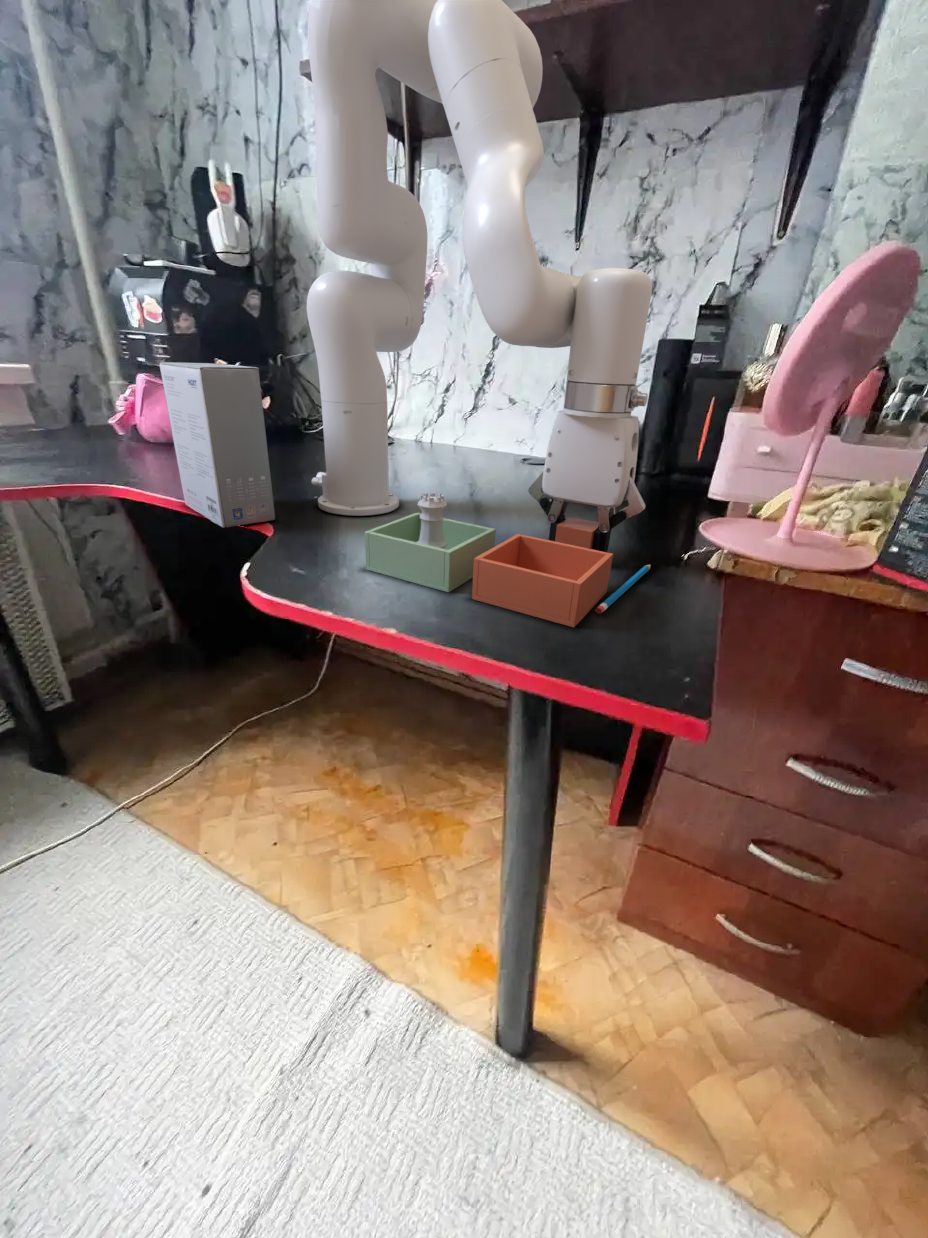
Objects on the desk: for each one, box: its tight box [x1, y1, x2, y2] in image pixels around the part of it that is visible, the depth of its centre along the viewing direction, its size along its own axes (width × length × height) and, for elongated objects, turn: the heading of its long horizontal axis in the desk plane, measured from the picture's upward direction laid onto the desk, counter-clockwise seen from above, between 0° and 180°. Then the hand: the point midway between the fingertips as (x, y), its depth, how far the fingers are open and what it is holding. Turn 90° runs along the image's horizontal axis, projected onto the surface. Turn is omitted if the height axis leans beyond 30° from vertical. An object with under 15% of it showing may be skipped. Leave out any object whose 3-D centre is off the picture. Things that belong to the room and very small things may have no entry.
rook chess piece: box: [417, 492, 449, 550], centre depth 62 cm, size 4×4×8 cm
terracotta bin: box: [471, 533, 614, 628], centre depth 57 cm, size 11×10×4 cm
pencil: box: [594, 564, 651, 615], centre depth 61 cm, size 1×17×1 cm, turn 146°
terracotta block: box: [555, 516, 599, 549], centre depth 68 cm, size 4×4×4 cm
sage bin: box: [364, 512, 497, 593], centre depth 63 cm, size 11×10×4 cm
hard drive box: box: [158, 361, 276, 529], centre depth 76 cm, size 16×8×20 cm, turn 43°
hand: (576, 554), depth 69 cm, fingers closed on terracotta block, 4 cm apart
